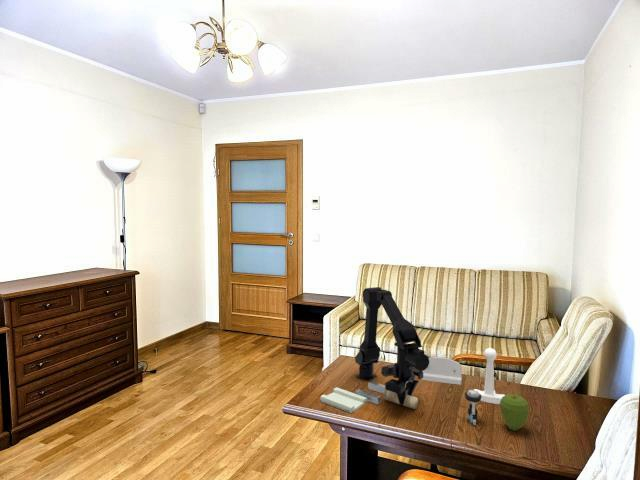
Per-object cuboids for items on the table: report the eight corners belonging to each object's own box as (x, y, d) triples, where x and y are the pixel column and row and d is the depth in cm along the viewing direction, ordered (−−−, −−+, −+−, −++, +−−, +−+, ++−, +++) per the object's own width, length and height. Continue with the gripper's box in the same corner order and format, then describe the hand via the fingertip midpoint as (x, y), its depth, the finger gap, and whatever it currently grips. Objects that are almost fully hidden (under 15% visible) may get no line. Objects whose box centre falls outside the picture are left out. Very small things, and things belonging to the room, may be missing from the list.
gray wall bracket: (420, 379, 174) (421, 355, 176) (421, 379, 178) (422, 355, 180) (462, 384, 169) (462, 359, 171) (461, 384, 173) (462, 359, 175)
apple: (533, 430, 134) (535, 396, 133) (518, 438, 130) (520, 403, 129) (508, 419, 141) (510, 386, 141) (493, 426, 137) (495, 392, 136)
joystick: (472, 399, 156) (474, 347, 154) (475, 391, 163) (476, 342, 161) (504, 405, 151) (506, 352, 149) (505, 397, 158) (507, 346, 156)
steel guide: (370, 387, 166) (371, 381, 166) (392, 394, 160) (392, 388, 160) (355, 396, 158) (355, 390, 158) (378, 404, 152) (378, 398, 151)
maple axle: (383, 400, 154) (383, 390, 154) (389, 397, 157) (389, 387, 157) (412, 410, 146) (413, 400, 146) (418, 406, 149) (418, 396, 149)
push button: (482, 427, 136) (483, 398, 135) (466, 425, 137) (466, 396, 136) (479, 417, 143) (480, 389, 142) (462, 415, 144) (463, 388, 143)
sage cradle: (336, 392, 162) (336, 387, 162) (366, 402, 153) (366, 397, 153) (320, 401, 154) (320, 396, 154) (351, 413, 145) (351, 407, 145)
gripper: (397, 349, 162) (397, 387, 163) (372, 363, 147) (372, 405, 148) (424, 355, 155) (423, 395, 156) (400, 370, 140) (399, 414, 141)
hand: (404, 402), depth 151 cm, fingers closed on maple axle, 4 cm apart
